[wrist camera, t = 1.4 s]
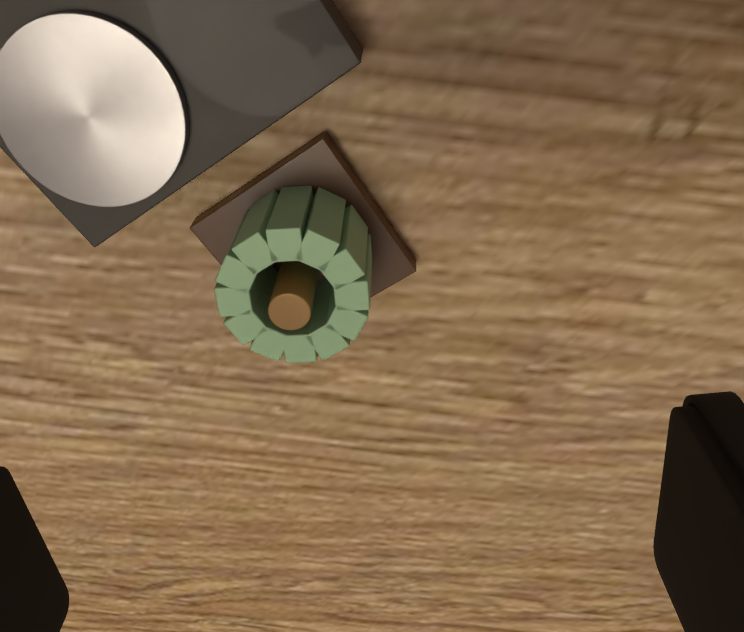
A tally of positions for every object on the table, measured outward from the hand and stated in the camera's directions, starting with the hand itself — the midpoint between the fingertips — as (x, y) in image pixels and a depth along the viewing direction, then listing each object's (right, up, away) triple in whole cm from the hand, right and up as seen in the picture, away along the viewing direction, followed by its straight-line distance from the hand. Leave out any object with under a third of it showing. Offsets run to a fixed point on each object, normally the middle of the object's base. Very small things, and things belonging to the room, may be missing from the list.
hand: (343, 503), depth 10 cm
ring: (-3, +6, +24) cm, 25 cm away
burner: (-11, +11, +19) cm, 25 cm away
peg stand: (-3, +7, +25) cm, 26 cm away
